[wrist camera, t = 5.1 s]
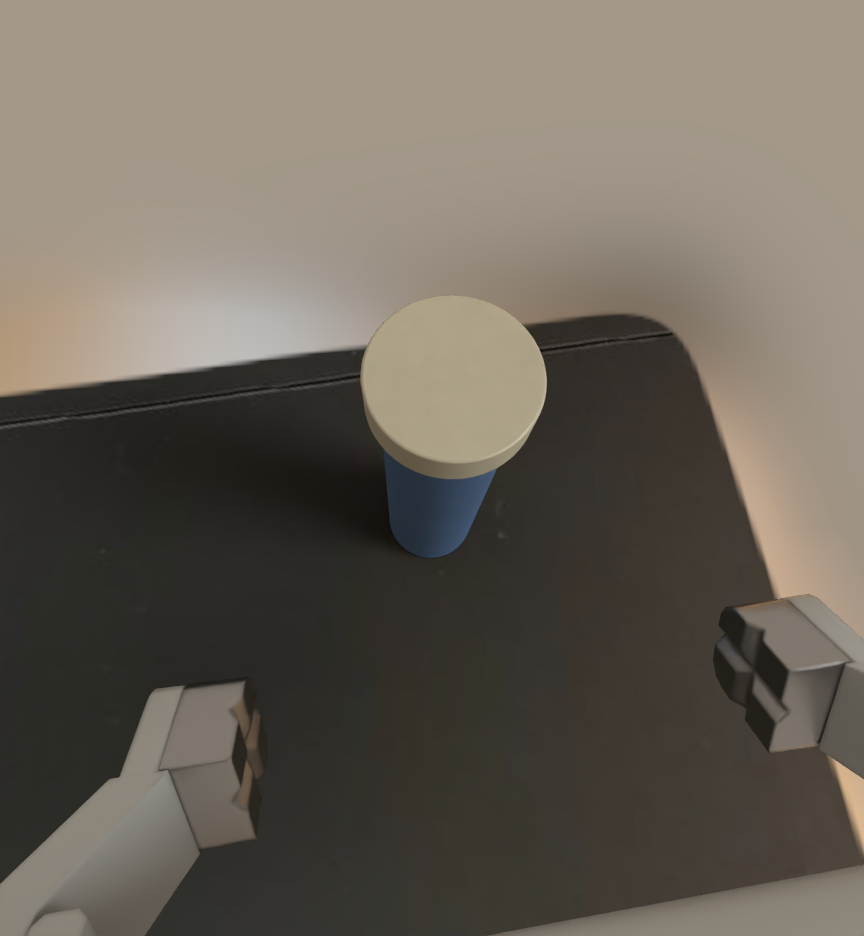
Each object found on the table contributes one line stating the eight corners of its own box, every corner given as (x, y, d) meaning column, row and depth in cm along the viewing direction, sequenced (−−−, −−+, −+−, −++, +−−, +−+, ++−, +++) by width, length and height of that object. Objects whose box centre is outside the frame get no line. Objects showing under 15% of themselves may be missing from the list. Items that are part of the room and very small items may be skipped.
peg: (472, 467, 22) (532, 288, 12) (484, 561, 21) (561, 454, 11) (377, 475, 22) (354, 299, 12) (385, 571, 21) (366, 470, 11)
